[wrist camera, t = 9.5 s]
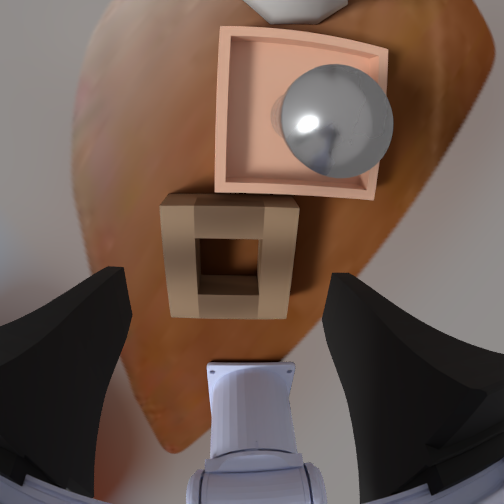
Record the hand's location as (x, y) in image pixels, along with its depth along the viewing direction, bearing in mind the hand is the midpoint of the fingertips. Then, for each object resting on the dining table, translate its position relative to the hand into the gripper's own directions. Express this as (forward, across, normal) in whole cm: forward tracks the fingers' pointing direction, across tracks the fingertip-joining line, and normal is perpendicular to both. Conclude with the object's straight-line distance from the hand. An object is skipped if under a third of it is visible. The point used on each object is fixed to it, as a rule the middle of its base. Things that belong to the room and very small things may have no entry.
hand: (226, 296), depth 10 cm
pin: (+10, -4, -6) cm, 12 cm away
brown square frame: (+10, 0, +3) cm, 11 cm away
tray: (+10, -4, -6) cm, 13 cm away
